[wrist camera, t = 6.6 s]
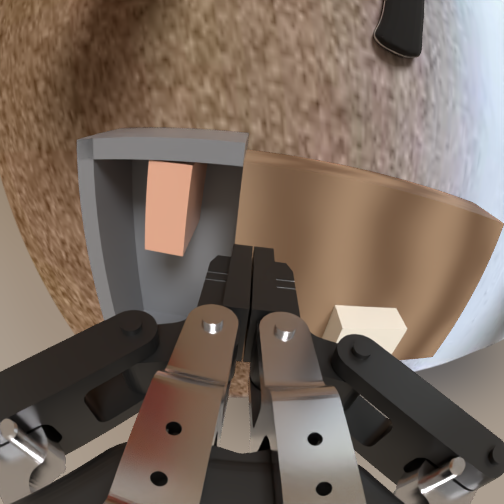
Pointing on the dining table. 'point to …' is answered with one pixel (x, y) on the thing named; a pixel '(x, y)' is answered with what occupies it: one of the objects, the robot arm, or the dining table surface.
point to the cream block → (366, 325)
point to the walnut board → (367, 243)
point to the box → (134, 210)
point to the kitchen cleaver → (401, 27)
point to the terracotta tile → (173, 204)
